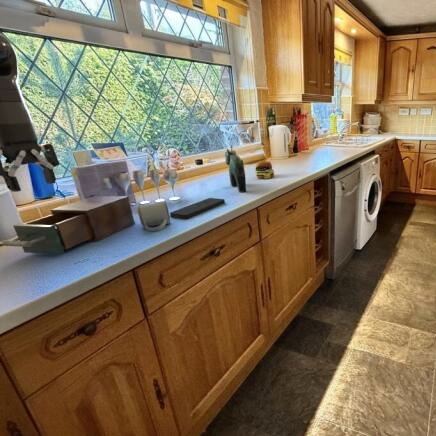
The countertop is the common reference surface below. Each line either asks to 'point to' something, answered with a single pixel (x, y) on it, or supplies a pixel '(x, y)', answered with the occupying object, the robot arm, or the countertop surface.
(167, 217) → the ceramic mug
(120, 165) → the cake pan box
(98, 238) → the cabinet
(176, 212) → the smart home device
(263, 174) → the cheeseburger
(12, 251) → the countertop surface
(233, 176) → the dark green animal figure
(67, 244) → the drawer
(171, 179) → the goblet set
